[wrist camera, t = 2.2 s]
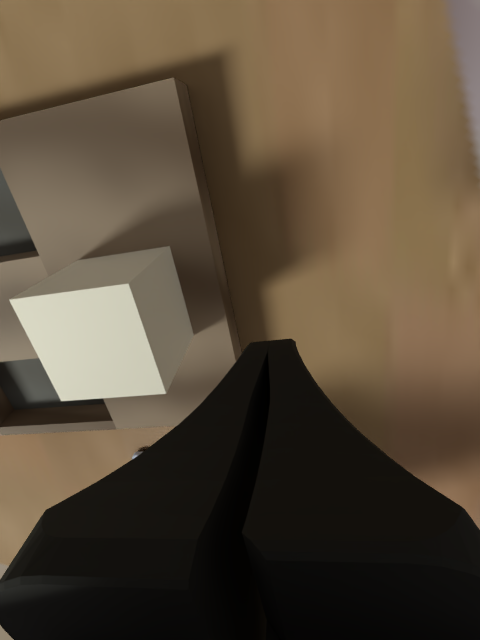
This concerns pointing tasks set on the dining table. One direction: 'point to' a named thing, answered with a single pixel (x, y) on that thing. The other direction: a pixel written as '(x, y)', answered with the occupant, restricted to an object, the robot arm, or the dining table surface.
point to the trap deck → (109, 243)
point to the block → (109, 325)
